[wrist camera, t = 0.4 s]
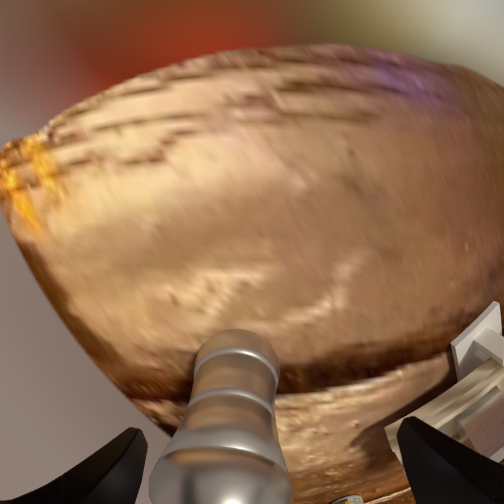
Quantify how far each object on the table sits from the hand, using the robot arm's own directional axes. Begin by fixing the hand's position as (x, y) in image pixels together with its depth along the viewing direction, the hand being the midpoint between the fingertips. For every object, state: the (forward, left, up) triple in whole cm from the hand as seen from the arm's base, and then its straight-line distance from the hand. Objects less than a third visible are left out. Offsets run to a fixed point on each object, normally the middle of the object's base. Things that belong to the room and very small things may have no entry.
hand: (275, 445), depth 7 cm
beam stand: (-13, -26, -15) cm, 33 cm away
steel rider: (-15, -22, -10) cm, 28 cm away
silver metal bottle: (-5, +3, -15) cm, 16 cm away
